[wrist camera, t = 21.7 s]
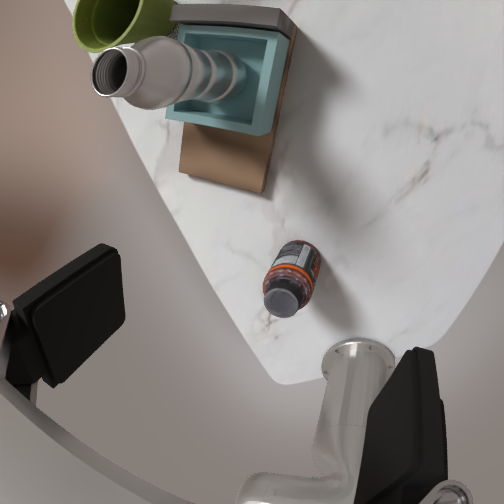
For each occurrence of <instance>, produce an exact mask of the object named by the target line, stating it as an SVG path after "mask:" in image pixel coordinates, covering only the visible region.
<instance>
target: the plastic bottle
mask: <svg viewBox="0 0 504 504" xmlns="http://www.w3.org/2000/svg"><path fill="white" fill-rule="evenodd" d="M246 80H247V70H246V67H245V65H244V63H243V61H242V60H241V59H240V58H239V57H238V56H236V55H235V54H234V53H232V52H230V51H227V50H199V49H196V48H193V47H190V46H188V45H186V44H184V43H182V42H180V41H178V40H175V39H173V38H169V37H166V36H153V37H149V38H146V39H143V40H140V41H139V42H137V43H135V44H134V45H133V46H131V47H121V48H119V47H113V48H108V49H106V50H104V51H103V52H101V53H100V54H99V55H98V57H97V58H96V59H95V61H94V63H93V66H92V69H91V83H92V86H93V89H94V90H95V92H96V93H97V94H99V95H100V96H103V97H123V98H124V99H125V100H126V101H127V102H128V103H129V104H131V105H133V106H135V107H138V108H141V109H145V110H155V109H160V108H164V107H167V106H169V105H172V104H175V103H178V102H181V101H186V100H200V101H203V102H207V103H215V104H217V103H223V102H226V101H228V100H230V99H232V98H234V97H235V96H237V95H238V94H239V93H240V92H241V91H242V89H243V88H244V86H245V83H246Z"/></svg>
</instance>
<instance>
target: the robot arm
mask: <svg viewBox="0 0 504 504" xmlns="http://www.w3.org/2000/svg"><path fill="white" fill-rule="evenodd" d="M13 304H14V308H15V309H14V310H13V311H11V308H10V306H9V304H8V303H7V302H5V301H2V300H0V504H194V503H191V502H189V501H187V500H185V499H182V498H180V497H178V496H176V495H174V494H172V493H169V492H167V491H165V490H163V489H161V488H159V487H157V486H155V485H153V484H151V483H149V482H147V481H146V480H144V479H142V478H140V477H138V476H136V475H135V474H133V473H131V472H129V471H128V470H126V469H124V468H122V467H121V466H119V465H117V464H116V463H114V462H112V461H111V460H109V459H108V458H106V457H104V456H103V455H101V454H100V453H98V452H97V451H95V450H93V449H92V448H91V447H89V446H88V445H86V444H85V443H83V442H82V441H80V440H79V439H77V438H76V437H75V436H73V435H72V434H71V433H69V432H68V431H66V430H65V429H64V428H62V427H61V426H60V425H58V424H57V423H56V422H55V421H53V420H52V419H51V418H49V417H48V416H47V415H46V414H44V413H43V412H42V411H41V410H40V409H38V408H37V407H36V398H37V385H38V380H39V379H40V378H41V377H42V379H43V381H44V382H46V383H47V384H48V385H49V386H51V387H52V388H55V387H56V386H57V385H58V384H59V383H63V382H64V381H66V380H67V379H68V377H69V376H71V374H73V373H74V372H75V371H76V370H77V368H78V367H80V366H81V365H82V364H83V362H85V361H86V359H88V358H89V357H90V356H91V355H92V353H94V352H95V351H96V350H97V349H98V348H99V347H100V346H101V345H102V344H103V343H104V342H105V341H106V340H107V339H108V338H109V337H110V336H111V335H112V334H113V333H114V332H115V331H116V330H117V329H119V328H120V327H121V326H122V324H123V323H124V321H125V307H124V297H123V285H122V272H121V258H120V255H119V254H118V251H117V249H115V248H114V247H111V246H108V245H106V244H102V243H101V244H98V245H97V246H95V247H94V248H92V249H90V250H89V251H87V252H86V253H84V254H82V255H81V256H79V257H77V258H76V259H74V260H73V261H71V262H70V263H68V264H67V265H65V266H63V267H62V268H60V269H59V270H57V271H56V272H54V273H53V274H51V275H50V276H48V277H47V278H45V279H44V280H42V281H41V282H39V283H38V284H37V285H35V286H33V287H32V288H30V289H29V290H28V291H26V292H25V293H23V294H22V295H21V296H19V297H18V298H16V299H15V300H13ZM321 367H322V373H323V376H324V377H325V379H326V380H327V381H328V382H327V386H326V390H325V395H324V399H323V404H322V409H321V412H320V416H319V421H318V424H317V428H316V432H315V436H314V440H313V445H312V456H313V460H314V462H315V464H316V466H317V468H318V469H319V471H320V472H321V474H322V475H323V477H320V478H318V477H311V478H310V477H300V476H291V475H283V474H276V473H267V472H259V473H254V474H252V475H250V476H249V477H247V478H246V479H245V480H244V482H243V484H242V485H241V487H240V489H239V491H238V494H237V497H236V501H235V503H234V504H473V498H472V495H471V492H470V491H469V489H468V488H467V487H466V486H465V485H464V484H463V483H461V482H459V481H456V480H448V467H447V466H448V464H447V463H448V462H447V439H446V424H445V413H444V405H443V401H442V400H441V399H440V395H439V387H438V378H437V371H436V364H435V358H434V353H433V351H430V350H427V349H423V348H419V347H414V348H413V349H412V351H411V350H407V351H406V352H405V354H404V355H403V357H402V359H401V360H400V362H399V363H398V365H397V367H396V368H395V359H394V356H393V354H392V353H391V351H390V350H389V349H388V348H387V347H385V346H384V345H382V344H381V343H379V342H376V341H373V340H368V339H349V340H345V341H342V342H340V343H337V344H336V345H334V346H332V347H331V348H330V349H329V350H328V351H327V352H326V354H325V355H324V358H323V361H322V366H321Z"/></svg>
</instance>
